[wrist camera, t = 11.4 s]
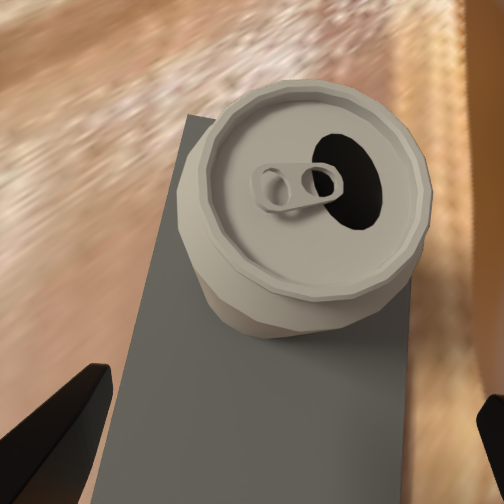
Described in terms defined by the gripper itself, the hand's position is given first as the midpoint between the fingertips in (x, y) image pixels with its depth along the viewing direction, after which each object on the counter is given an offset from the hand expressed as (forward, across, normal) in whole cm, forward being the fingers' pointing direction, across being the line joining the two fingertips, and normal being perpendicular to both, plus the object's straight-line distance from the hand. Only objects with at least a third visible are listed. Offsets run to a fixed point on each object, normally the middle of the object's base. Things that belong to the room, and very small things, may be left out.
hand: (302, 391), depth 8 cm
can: (+12, 0, +4) cm, 12 cm away
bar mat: (+11, -1, +6) cm, 12 cm away
